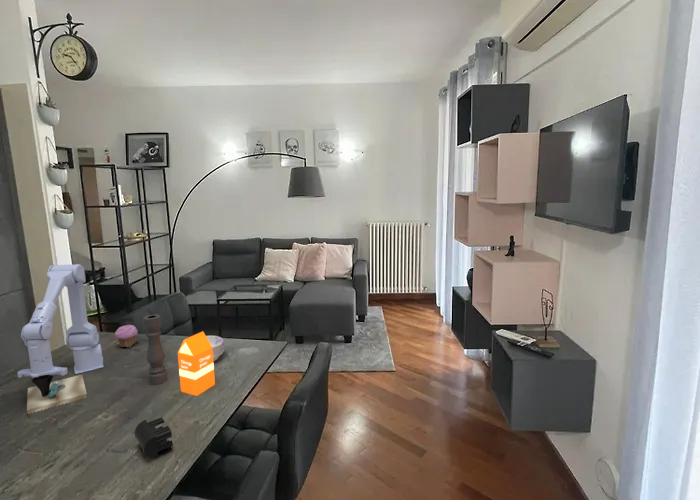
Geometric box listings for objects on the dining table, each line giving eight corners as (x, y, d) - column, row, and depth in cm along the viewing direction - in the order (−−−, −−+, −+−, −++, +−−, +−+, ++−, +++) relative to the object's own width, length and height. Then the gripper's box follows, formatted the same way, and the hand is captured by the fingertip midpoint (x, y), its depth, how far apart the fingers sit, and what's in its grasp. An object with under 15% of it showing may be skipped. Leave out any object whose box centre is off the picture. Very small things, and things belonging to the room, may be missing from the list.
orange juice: (215, 384, 142) (211, 332, 139) (196, 396, 134) (192, 341, 131) (199, 380, 145) (195, 329, 142) (180, 391, 137) (175, 337, 134)
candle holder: (171, 378, 147) (165, 315, 143) (158, 386, 141) (151, 320, 137) (158, 375, 149) (152, 313, 145) (145, 383, 143) (138, 318, 139)
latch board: (82, 378, 148) (82, 373, 148) (87, 397, 134) (86, 393, 134) (28, 392, 138) (27, 387, 138) (27, 414, 124) (26, 409, 124)
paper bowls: (232, 356, 165) (231, 339, 164) (201, 371, 152) (200, 352, 151) (209, 349, 173) (207, 332, 172) (178, 362, 160) (176, 344, 159)
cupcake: (112, 349, 174) (109, 328, 172) (126, 342, 182) (124, 321, 181) (129, 350, 172) (127, 329, 171) (143, 343, 181) (141, 322, 179)
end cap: (135, 445, 109) (133, 423, 108) (162, 434, 113) (160, 413, 112) (145, 464, 101) (143, 440, 100) (173, 451, 106) (171, 429, 105)
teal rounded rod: (52, 386, 138) (52, 381, 137) (61, 384, 139) (60, 379, 138) (47, 398, 130) (46, 393, 129) (56, 396, 131) (55, 391, 131)
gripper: (7, 363, 124) (14, 402, 126) (55, 361, 125) (60, 400, 127) (24, 354, 131) (30, 391, 133) (69, 352, 132) (74, 389, 134)
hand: (46, 395), depth 131 cm, fingers closed, pressing on teal rounded rod
